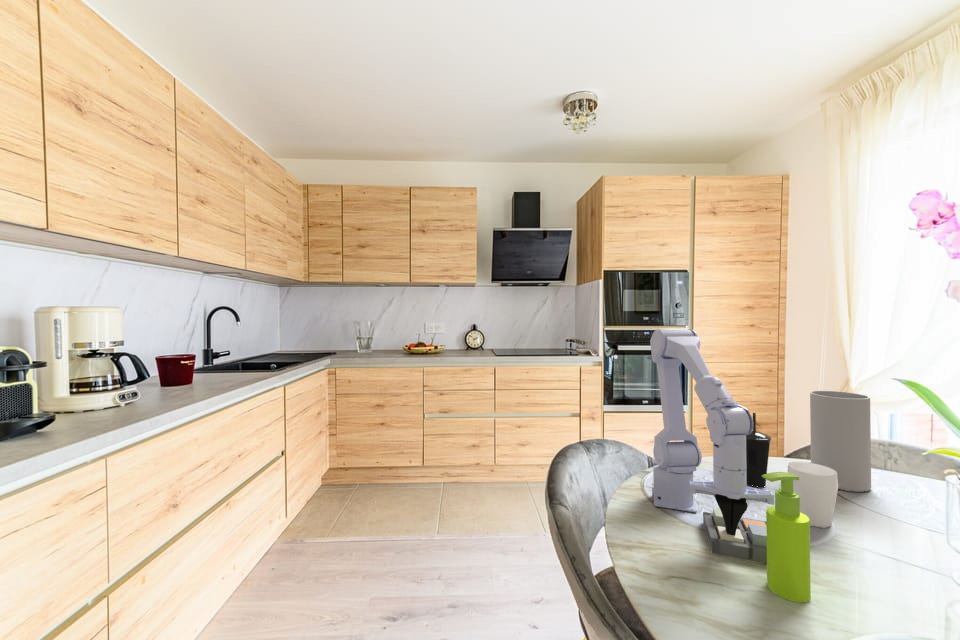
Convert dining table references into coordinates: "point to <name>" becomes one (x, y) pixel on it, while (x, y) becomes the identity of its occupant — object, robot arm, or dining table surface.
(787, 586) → the soap dispenser
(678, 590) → the dining table surface
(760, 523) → the terracotta key
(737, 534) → the ivory key
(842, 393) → the cylinder vase
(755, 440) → the drinking cup
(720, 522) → the sage key
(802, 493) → the cup
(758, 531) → the slate key
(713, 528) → the grey divided tray
